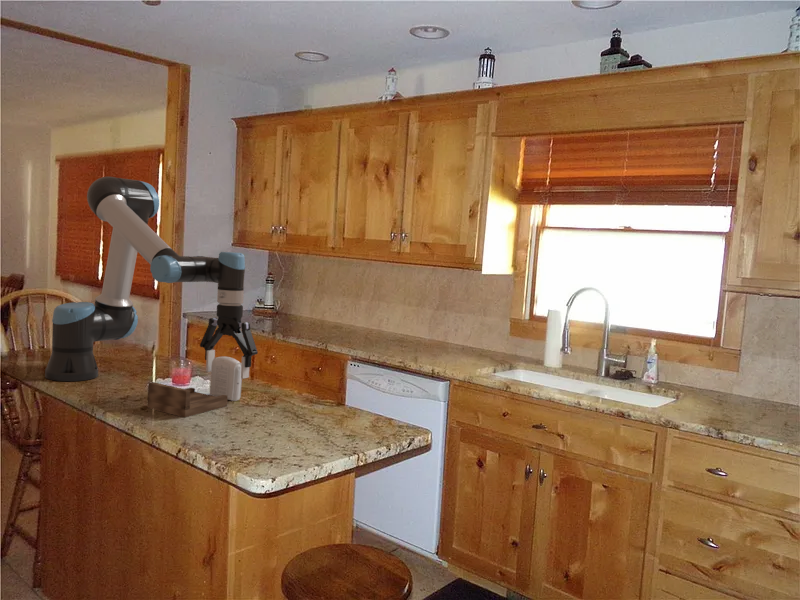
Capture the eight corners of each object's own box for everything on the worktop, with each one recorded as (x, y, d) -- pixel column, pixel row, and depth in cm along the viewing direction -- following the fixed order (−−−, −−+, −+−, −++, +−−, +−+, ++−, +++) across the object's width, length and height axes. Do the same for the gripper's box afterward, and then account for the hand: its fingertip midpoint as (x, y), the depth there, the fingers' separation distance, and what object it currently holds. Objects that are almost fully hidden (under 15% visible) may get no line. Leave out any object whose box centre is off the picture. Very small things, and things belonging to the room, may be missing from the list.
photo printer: (243, 399, 194) (245, 358, 193) (232, 402, 190) (234, 360, 189) (217, 393, 199) (219, 353, 198) (207, 395, 195) (209, 355, 194)
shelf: (147, 407, 177) (148, 382, 177) (190, 397, 192) (191, 374, 191) (185, 417, 171) (186, 391, 171) (226, 406, 185) (228, 382, 185)
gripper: (189, 300, 195) (187, 370, 196) (254, 308, 183) (251, 382, 185) (207, 299, 201) (204, 367, 203) (271, 307, 190) (268, 378, 192)
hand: (227, 374), depth 194 cm, fingers open, 13 cm apart
